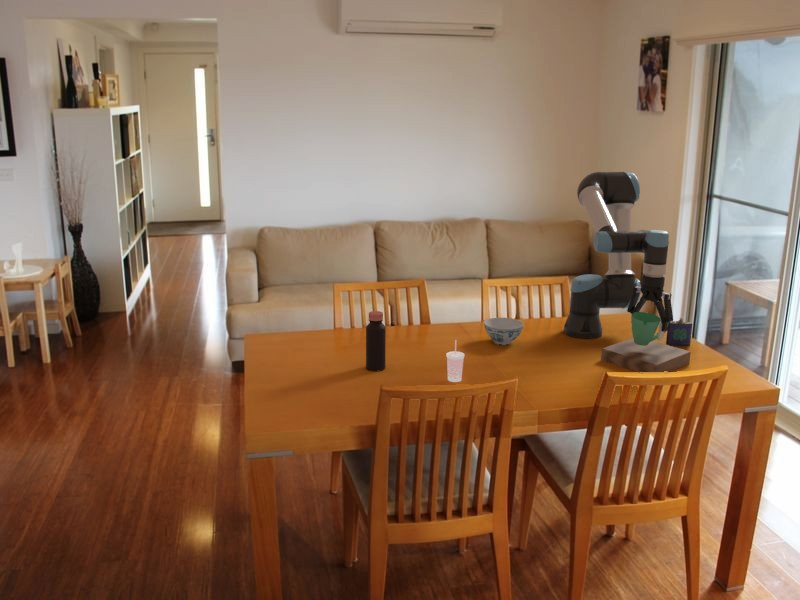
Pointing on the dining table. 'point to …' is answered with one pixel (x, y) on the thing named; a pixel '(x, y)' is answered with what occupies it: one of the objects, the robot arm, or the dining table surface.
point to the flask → (679, 333)
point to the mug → (645, 327)
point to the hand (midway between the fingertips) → (647, 335)
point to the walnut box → (645, 356)
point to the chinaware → (503, 329)
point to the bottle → (375, 342)
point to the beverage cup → (455, 365)
